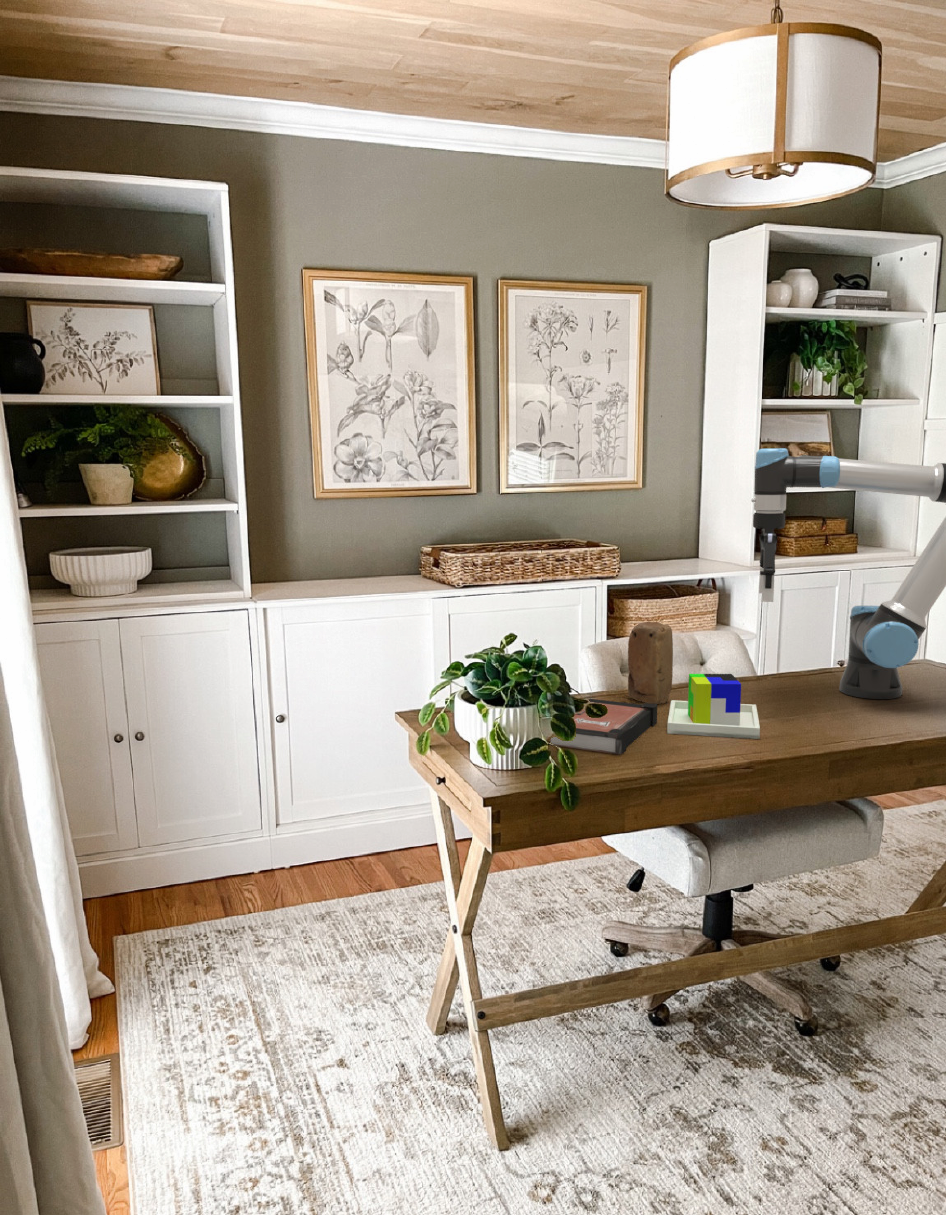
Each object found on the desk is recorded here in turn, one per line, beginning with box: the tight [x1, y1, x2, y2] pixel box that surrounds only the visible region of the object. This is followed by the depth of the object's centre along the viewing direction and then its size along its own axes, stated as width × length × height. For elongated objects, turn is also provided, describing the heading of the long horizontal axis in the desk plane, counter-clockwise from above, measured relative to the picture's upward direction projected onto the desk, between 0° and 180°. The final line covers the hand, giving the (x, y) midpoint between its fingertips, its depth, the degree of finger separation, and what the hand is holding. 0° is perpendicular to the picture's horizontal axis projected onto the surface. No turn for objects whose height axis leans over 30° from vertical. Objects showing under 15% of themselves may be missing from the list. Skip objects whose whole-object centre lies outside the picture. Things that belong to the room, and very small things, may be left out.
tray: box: [666, 699, 761, 740], centre depth 221 cm, size 20×20×2 cm
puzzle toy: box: [687, 673, 742, 726], centre depth 221 cm, size 10×10×10 cm
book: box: [549, 698, 658, 756], centre depth 215 cm, size 26×18×5 cm
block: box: [627, 621, 674, 705], centre depth 241 cm, size 11×8×20 cm
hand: (765, 597), depth 236 cm, fingers open, 13 cm apart
